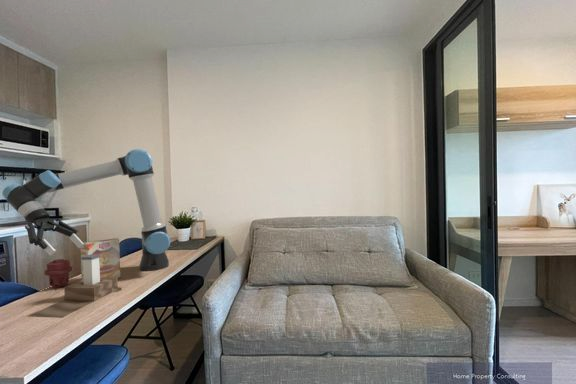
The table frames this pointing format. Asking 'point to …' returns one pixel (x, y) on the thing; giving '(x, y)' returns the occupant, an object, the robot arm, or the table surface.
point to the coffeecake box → (104, 256)
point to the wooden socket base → (79, 297)
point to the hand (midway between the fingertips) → (68, 249)
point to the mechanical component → (58, 272)
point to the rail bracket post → (91, 269)
